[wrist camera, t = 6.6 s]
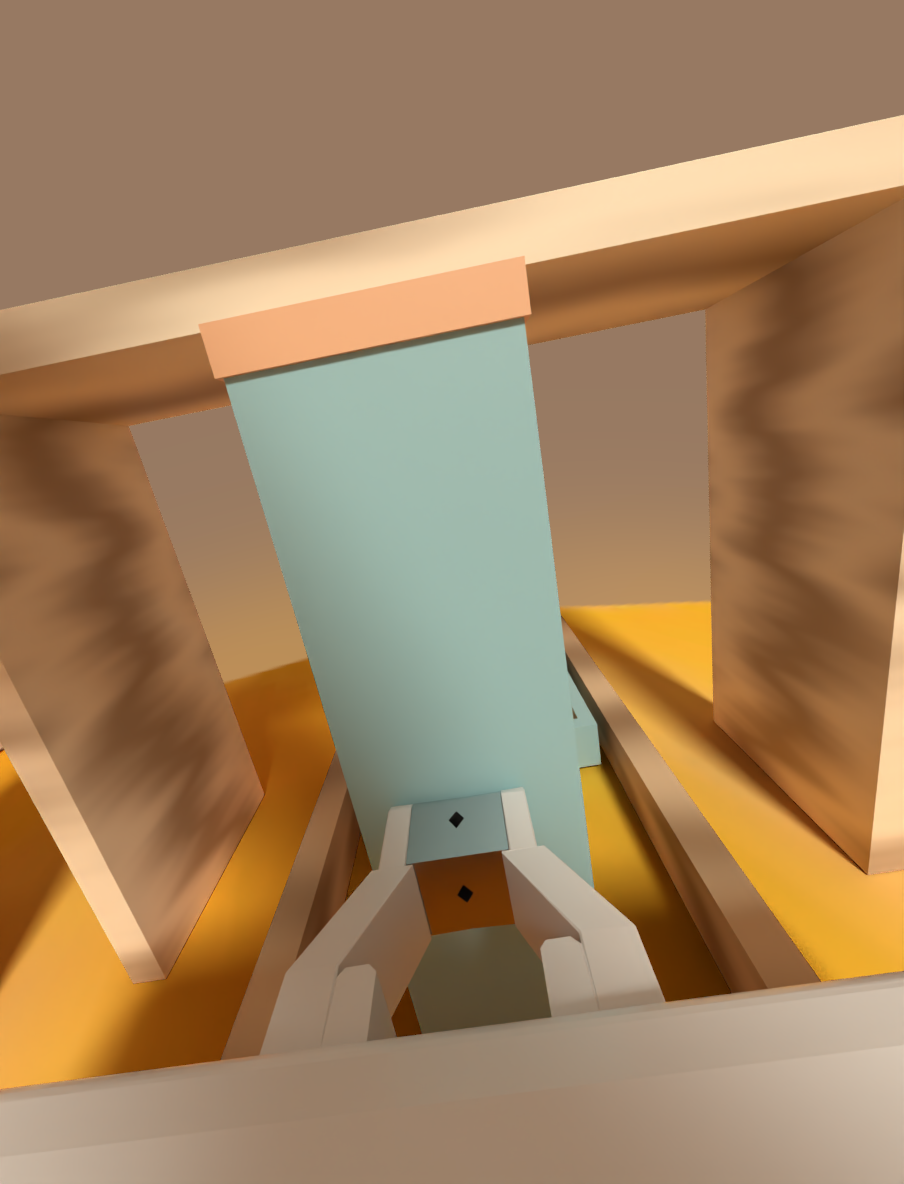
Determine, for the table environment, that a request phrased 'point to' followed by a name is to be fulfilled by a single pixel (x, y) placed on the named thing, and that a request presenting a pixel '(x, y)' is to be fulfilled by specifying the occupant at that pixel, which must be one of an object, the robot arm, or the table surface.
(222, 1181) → the robot arm
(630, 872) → the table surface
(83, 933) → the table surface
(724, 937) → the tunnel
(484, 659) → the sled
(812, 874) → the table surface
